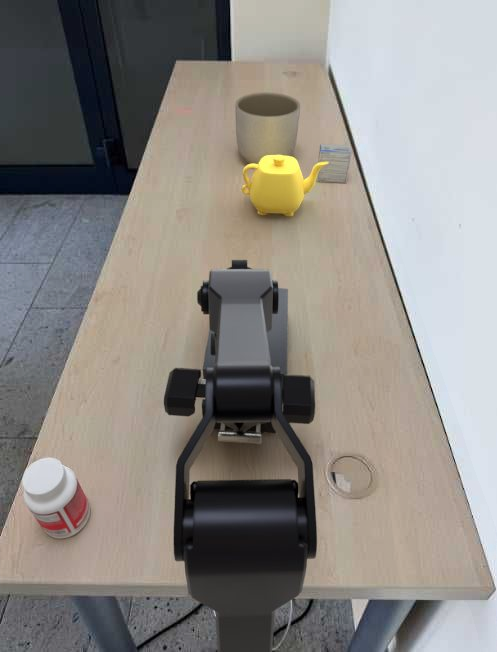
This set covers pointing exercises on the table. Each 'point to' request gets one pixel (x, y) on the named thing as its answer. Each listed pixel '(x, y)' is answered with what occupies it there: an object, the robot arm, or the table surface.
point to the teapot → (278, 184)
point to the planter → (266, 125)
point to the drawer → (241, 437)
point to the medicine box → (334, 163)
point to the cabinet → (275, 338)
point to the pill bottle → (55, 498)
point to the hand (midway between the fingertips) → (240, 429)
